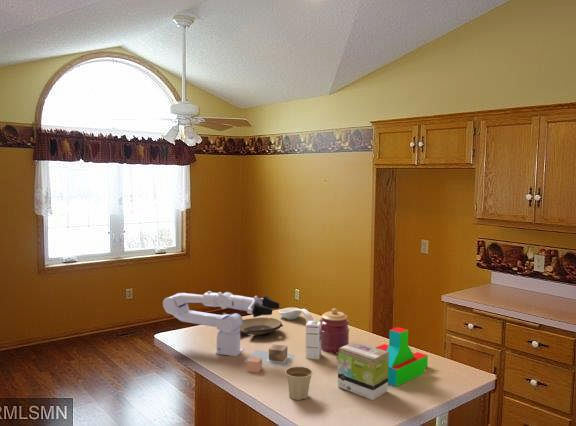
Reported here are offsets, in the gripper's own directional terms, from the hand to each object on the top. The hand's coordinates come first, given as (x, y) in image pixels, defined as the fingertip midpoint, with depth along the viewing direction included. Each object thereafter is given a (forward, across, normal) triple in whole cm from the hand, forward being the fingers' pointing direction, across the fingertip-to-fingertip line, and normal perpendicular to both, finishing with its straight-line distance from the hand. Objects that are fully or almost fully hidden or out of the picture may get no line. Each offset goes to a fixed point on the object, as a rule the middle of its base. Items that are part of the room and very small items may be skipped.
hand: (275, 308), depth 201 cm
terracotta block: (-2, -16, +20) cm, 25 cm away
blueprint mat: (-1, -2, +21) cm, 21 cm away
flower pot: (+21, -30, +18) cm, 41 cm away
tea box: (+40, -17, +18) cm, 47 cm away
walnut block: (+2, -1, +20) cm, 21 cm away
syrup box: (+15, +7, +21) cm, 26 cm away
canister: (+20, +20, +22) cm, 36 cm away
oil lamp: (-21, +27, +24) cm, 42 cm away
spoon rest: (-9, +53, +26) cm, 59 cm away
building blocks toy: (+48, +6, +19) cm, 52 cm away
